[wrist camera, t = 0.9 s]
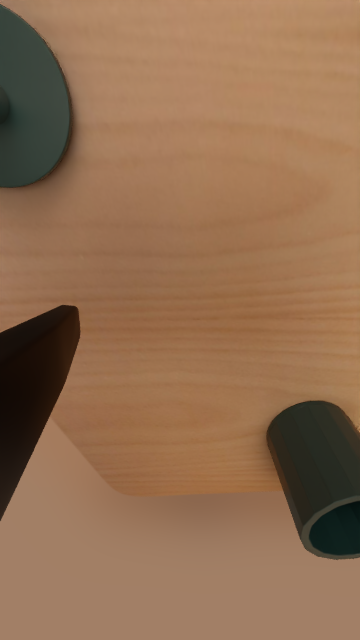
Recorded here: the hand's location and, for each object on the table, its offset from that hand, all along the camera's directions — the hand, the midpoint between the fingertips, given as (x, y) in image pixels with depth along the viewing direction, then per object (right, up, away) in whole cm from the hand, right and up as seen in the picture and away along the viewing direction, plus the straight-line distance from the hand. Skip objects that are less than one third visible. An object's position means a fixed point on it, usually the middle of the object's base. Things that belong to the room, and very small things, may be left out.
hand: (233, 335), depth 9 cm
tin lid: (-12, +12, +8) cm, 19 cm away
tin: (+11, -10, +21) cm, 26 cm away
